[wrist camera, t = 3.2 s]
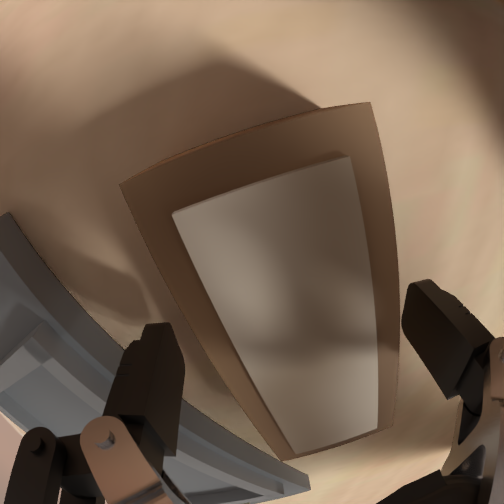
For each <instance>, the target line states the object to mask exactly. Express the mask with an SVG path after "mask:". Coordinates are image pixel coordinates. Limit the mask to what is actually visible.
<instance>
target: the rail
mask: <svg viewBox="0 0 504 504" xmlns="http://www.w3.org/2000/svg"><path fill="white" fill-rule="evenodd" d="M124 351H125V350H123V349H122V348H121V347H120V346H119V345H118V344H117V343H116V342H115V341H114V340H113V339H112V338H111V337H110V336H109V335H108V334H107V333H106V332H105V331H104V330H103V329H102V328H101V327H100V326H99V325H98V324H97V323H96V322H95V321H94V320H93V319H92V318H91V317H90V316H89V315H88V314H87V313H86V312H85V310H84V309H83V308H82V307H81V306H80V305H79V304H78V303H77V302H76V301H75V299H74V298H73V297H72V296H71V295H70V294H69V293H68V291H67V290H66V289H65V288H64V287H63V286H62V284H61V283H60V282H59V281H58V280H57V278H56V277H55V276H54V275H53V273H52V272H51V271H50V270H49V268H48V267H47V266H46V265H45V263H44V262H43V261H42V259H41V258H40V257H39V255H38V254H37V253H36V251H35V250H34V249H33V247H32V246H31V244H30V243H29V242H28V240H27V239H26V237H25V236H24V235H23V233H22V232H21V230H20V229H19V227H18V226H17V224H16V223H15V221H14V220H13V218H12V216H11V215H10V213H9V212H8V213H6V214H4V215H2V216H0V411H1V412H2V413H3V414H4V415H5V416H7V417H8V418H9V419H10V420H11V421H12V422H14V423H15V424H16V425H17V426H19V427H20V428H21V429H22V430H24V431H25V432H26V433H27V432H28V431H29V430H31V429H33V428H35V427H45V428H47V429H49V430H50V431H51V432H52V433H53V434H54V435H55V436H56V437H63V436H69V435H75V434H80V433H81V432H82V430H83V429H84V427H85V426H86V425H87V424H88V423H89V422H90V421H91V420H93V419H95V418H97V417H101V416H102V414H103V411H104V408H105V405H106V402H107V399H108V396H109V393H110V390H111V387H112V384H113V381H114V378H115V377H116V372H117V369H118V366H120V361H121V358H122V355H123V353H124ZM163 468H164V469H165V471H166V472H167V473H168V475H169V476H170V477H171V478H172V480H173V481H174V482H175V484H176V485H177V486H178V487H179V489H180V490H181V491H182V492H183V493H184V495H185V496H186V497H187V498H188V499H189V501H190V502H191V503H192V504H255V503H261V502H266V501H270V500H275V499H279V498H283V497H287V496H291V495H295V494H299V493H302V492H306V491H309V490H311V487H310V482H309V477H308V475H306V474H304V473H302V472H300V471H298V470H296V469H294V468H292V467H290V466H288V465H286V464H284V463H282V462H280V461H278V460H277V459H275V458H273V457H271V456H269V455H267V454H266V453H264V452H262V451H260V450H259V449H257V448H255V447H253V446H252V445H250V444H248V443H247V442H245V441H243V440H242V439H240V438H238V437H237V436H235V435H234V434H232V433H231V432H229V431H227V430H226V429H224V428H223V427H221V426H220V425H218V424H217V423H215V422H214V421H212V420H211V419H209V418H208V417H207V416H205V415H204V414H202V413H201V412H199V411H198V410H197V409H195V408H194V407H192V406H191V405H190V404H188V403H187V402H186V401H184V400H183V399H182V402H181V411H180V420H179V430H178V440H177V451H176V457H169V456H164V461H163Z"/></svg>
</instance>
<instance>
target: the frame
mask: <svg viewBox="0 0 504 504" xmlns="http://www.w3.org/2000/svg"><path fill="white" fill-rule="evenodd" d="M119 186H120V188H121V191H122V193H123V195H124V197H125V200H126V202H127V204H128V207H129V209H130V211H131V213H132V215H133V218H134V220H135V222H136V224H137V226H138V228H139V231H140V233H141V235H142V237H143V239H144V241H145V243H146V245H147V247H148V249H149V251H150V253H151V255H152V257H153V259H154V261H155V263H156V265H157V267H158V269H159V271H160V273H161V275H162V277H163V279H164V281H165V282H166V284H167V286H168V288H169V290H170V292H171V294H172V295H173V297H174V299H175V301H176V303H177V305H178V306H179V308H180V310H181V312H182V313H183V315H184V317H185V319H186V321H187V322H188V324H189V326H190V327H191V329H192V331H193V333H194V334H195V336H196V338H197V339H198V341H199V343H200V344H201V346H202V348H203V349H204V351H205V352H206V354H207V356H208V357H209V359H210V361H211V362H212V364H213V365H214V367H215V369H216V370H217V372H218V373H219V375H220V376H221V378H222V379H223V381H224V382H225V384H226V385H227V387H228V389H229V390H230V392H231V393H232V395H233V396H234V397H235V399H236V400H237V402H238V403H239V405H240V406H241V408H242V409H243V411H244V412H245V413H246V415H247V416H248V418H249V419H250V420H251V422H252V423H253V425H254V426H255V427H256V429H257V430H258V432H259V433H260V434H261V436H262V437H263V438H264V440H265V441H266V442H267V444H268V445H269V446H270V448H271V449H272V450H273V452H274V453H275V454H276V455H277V457H278V458H279V459H280V460H281V461H286V460H290V459H295V458H299V457H303V456H307V455H310V454H314V453H318V452H321V451H324V450H328V449H331V448H334V447H337V446H341V445H344V444H347V443H349V442H352V441H355V440H358V439H361V438H363V437H366V436H369V435H371V434H374V433H376V432H379V431H381V430H384V429H386V428H388V427H391V426H392V425H393V418H394V410H395V401H396V391H397V380H398V366H399V344H400V294H399V272H398V257H397V245H396V235H395V226H394V217H393V210H392V203H391V196H390V190H389V183H388V178H387V172H386V167H385V162H384V157H383V152H382V147H381V143H380V138H379V134H378V130H377V126H376V122H375V118H374V114H373V110H372V106H371V103H370V102H365V103H356V104H348V105H341V106H334V107H327V108H321V109H317V110H313V111H309V112H305V113H301V114H297V115H293V116H290V117H286V118H283V119H279V120H276V121H272V122H269V123H265V124H262V125H259V126H256V127H252V128H249V129H246V130H243V131H240V132H237V133H234V134H231V135H228V136H225V137H222V138H220V139H217V140H214V141H211V142H209V143H206V144H203V145H201V146H198V147H195V148H193V149H190V150H188V151H185V152H183V153H180V154H178V155H175V156H173V157H170V158H168V159H166V160H163V161H161V162H159V163H157V164H155V165H153V166H151V167H149V168H147V169H145V170H144V171H142V172H140V173H138V174H136V175H135V176H133V177H131V178H129V179H128V180H126V181H124V182H123V183H121V184H119Z"/></svg>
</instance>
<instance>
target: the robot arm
mask: <svg viewBox="0 0 504 504" xmlns="http://www.w3.org/2000/svg"><path fill="white" fill-rule="evenodd" d="M401 323H402V329H403V332H404V335H405V336H406V338H407V339H408V340H409V342H410V343H411V345H412V346H413V348H414V349H415V351H416V352H417V354H418V355H419V357H420V358H421V360H422V361H423V363H424V364H425V366H426V367H427V369H428V370H429V372H430V373H431V375H432V376H433V378H434V379H435V381H436V383H437V384H438V386H439V387H440V389H441V390H442V392H443V394H444V395H445V397H446V399H447V400H449V399H451V398H453V397H455V396H457V395H460V396H461V400H460V402H459V405H458V412H457V419H456V425H455V431H454V437H453V442H452V447H451V451H450V453H449V456H448V457H447V459H446V461H445V463H444V465H443V467H442V469H441V471H440V469H439V470H437V471H435V472H433V473H431V474H429V475H427V476H425V477H422V478H420V479H418V480H416V481H414V482H411V483H409V484H407V485H404V486H402V487H401V488H400V489H398V490H397V491H395V492H394V493H392V494H391V495H389V496H388V497H386V498H384V499H383V500H381V501H380V502H378V503H376V504H504V337H499V338H495V337H494V336H493V335H492V334H491V333H490V332H489V331H488V330H487V329H486V328H485V327H484V326H483V325H482V323H481V322H480V321H479V320H478V319H477V318H476V317H475V316H474V315H473V314H472V313H471V314H470V311H469V310H468V309H467V308H466V307H465V306H464V307H463V304H462V303H461V302H460V301H459V300H458V299H457V298H456V297H455V296H453V295H452V294H450V293H448V292H446V291H444V290H441V289H440V288H439V287H438V286H437V285H436V284H435V283H434V282H433V281H432V280H430V279H426V280H422V281H418V282H413V283H410V284H409V286H408V289H407V294H406V299H405V305H404V310H403V314H402V321H401ZM184 377H185V364H184V359H183V355H182V353H181V350H180V347H179V345H178V342H177V339H176V337H175V334H174V331H173V329H172V326H171V324H170V323H169V322H164V323H153V324H146V325H145V327H144V330H143V333H142V336H141V339H140V340H134V341H133V342H132V343H131V344H130V345H129V346H128V347H127V349H126V350H125V351H124V353H123V355H122V358H121V361H120V366H118V369H117V372H116V377H115V378H114V381H113V384H112V387H111V390H110V393H109V396H108V399H107V402H106V405H105V408H104V411H103V414H102V416H101V417H97V418H95V419H93V420H91V421H90V422H89V423H88V424H87V425H86V426H85V427H84V429H83V430H82V432H81V433H80V434H75V435H69V436H63V437H56V436H55V435H54V434H53V433H52V432H51V431H50V430H49V429H47V428H45V427H35V428H33V429H31V430H29V431H28V432H27V433H26V434H25V435H24V437H23V438H22V440H21V443H20V446H19V449H18V452H17V455H16V458H15V462H14V465H13V469H12V472H11V476H10V480H9V484H8V488H7V492H6V496H5V501H4V504H57V501H58V495H59V490H60V488H62V491H61V498H60V503H59V504H105V500H106V502H107V503H108V504H192V503H191V502H190V501H189V499H188V498H187V497H186V496H185V495H184V493H183V492H182V491H181V490H180V489H179V487H178V486H177V485H176V484H175V482H174V481H173V480H172V478H171V477H170V476H169V475H168V473H167V472H166V471H165V469H164V468H163V461H164V456H169V457H176V451H177V440H178V430H179V420H180V411H181V402H182V393H183V385H184Z"/></svg>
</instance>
